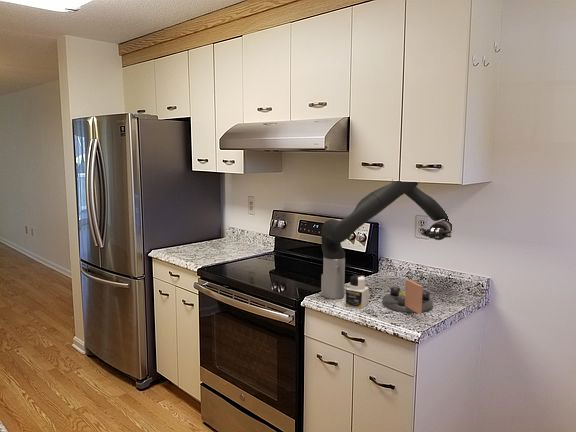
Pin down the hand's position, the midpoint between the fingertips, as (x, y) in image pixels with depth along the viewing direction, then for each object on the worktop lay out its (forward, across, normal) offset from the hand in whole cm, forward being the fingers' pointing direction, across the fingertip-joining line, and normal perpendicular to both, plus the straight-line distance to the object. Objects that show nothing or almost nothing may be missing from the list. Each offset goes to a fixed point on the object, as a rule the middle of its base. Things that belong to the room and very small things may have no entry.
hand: (431, 235), depth 188 cm
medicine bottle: (+17, -24, +29) cm, 41 cm away
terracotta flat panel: (+17, -3, +26) cm, 31 cm away
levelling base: (+6, -7, +28) cm, 30 cm away
